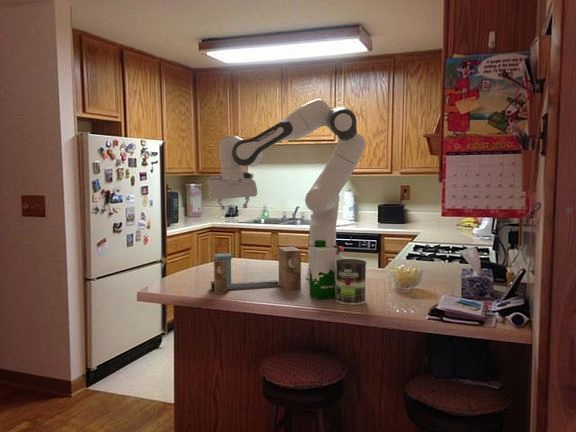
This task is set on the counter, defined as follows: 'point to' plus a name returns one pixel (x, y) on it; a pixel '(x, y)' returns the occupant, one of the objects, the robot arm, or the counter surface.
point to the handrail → (249, 285)
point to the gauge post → (220, 277)
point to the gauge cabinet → (290, 268)
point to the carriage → (228, 265)
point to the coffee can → (350, 281)
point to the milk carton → (322, 270)
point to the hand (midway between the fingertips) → (234, 209)
